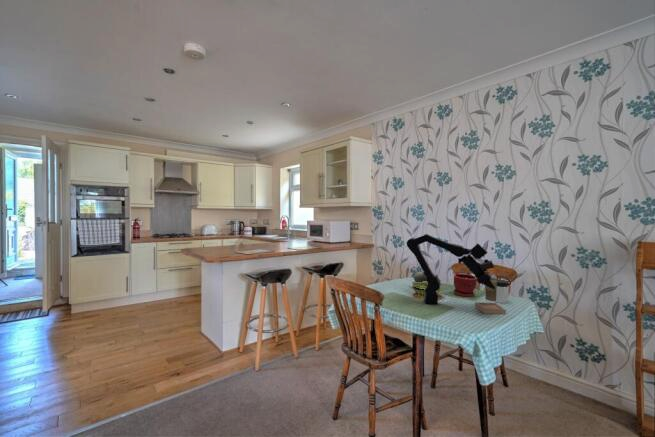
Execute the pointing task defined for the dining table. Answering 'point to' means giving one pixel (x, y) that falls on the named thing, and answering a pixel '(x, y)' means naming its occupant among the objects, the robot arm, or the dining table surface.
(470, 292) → the plant pot
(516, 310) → the dining table surface
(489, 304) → the stand
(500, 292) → the jar
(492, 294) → the pepper mill
